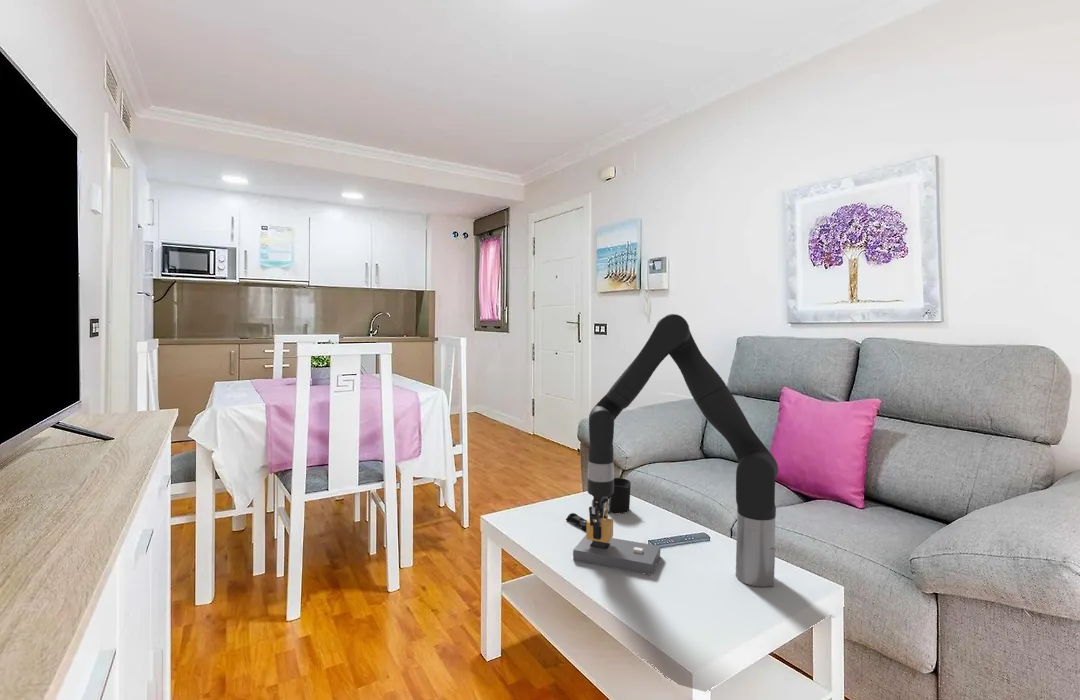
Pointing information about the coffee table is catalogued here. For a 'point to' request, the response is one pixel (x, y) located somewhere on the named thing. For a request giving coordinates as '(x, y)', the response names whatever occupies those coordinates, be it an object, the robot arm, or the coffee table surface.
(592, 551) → the socket board
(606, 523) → the plug
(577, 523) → the electric trimmer
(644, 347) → the robot arm
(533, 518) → the coffee table surface
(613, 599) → the coffee table surface
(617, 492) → the pen holder
